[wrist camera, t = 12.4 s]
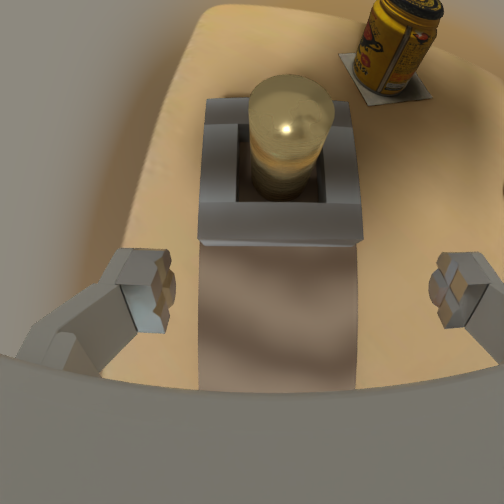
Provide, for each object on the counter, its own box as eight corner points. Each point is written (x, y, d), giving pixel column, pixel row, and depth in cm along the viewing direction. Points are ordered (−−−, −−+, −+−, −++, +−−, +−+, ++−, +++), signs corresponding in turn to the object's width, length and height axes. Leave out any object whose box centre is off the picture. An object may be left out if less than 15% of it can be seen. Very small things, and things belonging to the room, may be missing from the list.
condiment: (337, 54, 28) (361, -32, 16) (400, 51, 28) (436, -21, 16) (367, 107, 27) (411, 20, 15) (431, 99, 27) (484, 30, 15)
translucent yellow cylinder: (276, 141, 25) (286, 62, 15) (318, 175, 25) (350, 108, 15) (239, 177, 25) (230, 108, 15) (282, 214, 24) (298, 160, 14)
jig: (209, 120, 27) (202, 95, 23) (341, 122, 26) (352, 98, 23) (201, 402, 23) (191, 419, 19) (350, 400, 23) (365, 416, 19)
